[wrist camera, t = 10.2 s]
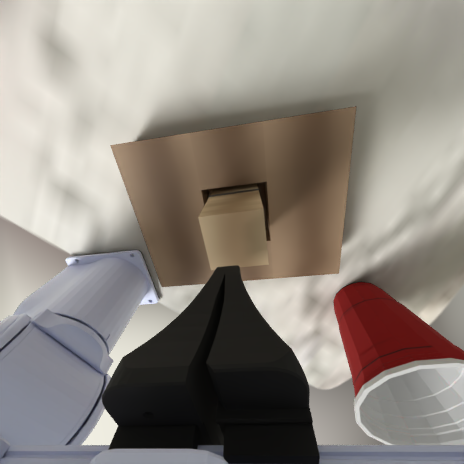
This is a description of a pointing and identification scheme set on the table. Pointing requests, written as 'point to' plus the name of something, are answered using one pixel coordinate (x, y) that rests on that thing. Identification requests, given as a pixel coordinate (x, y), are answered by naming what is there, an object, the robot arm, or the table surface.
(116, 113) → the table surface
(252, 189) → the oak peg
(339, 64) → the table surface
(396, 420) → the plastic cup
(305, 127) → the walnut socket block
